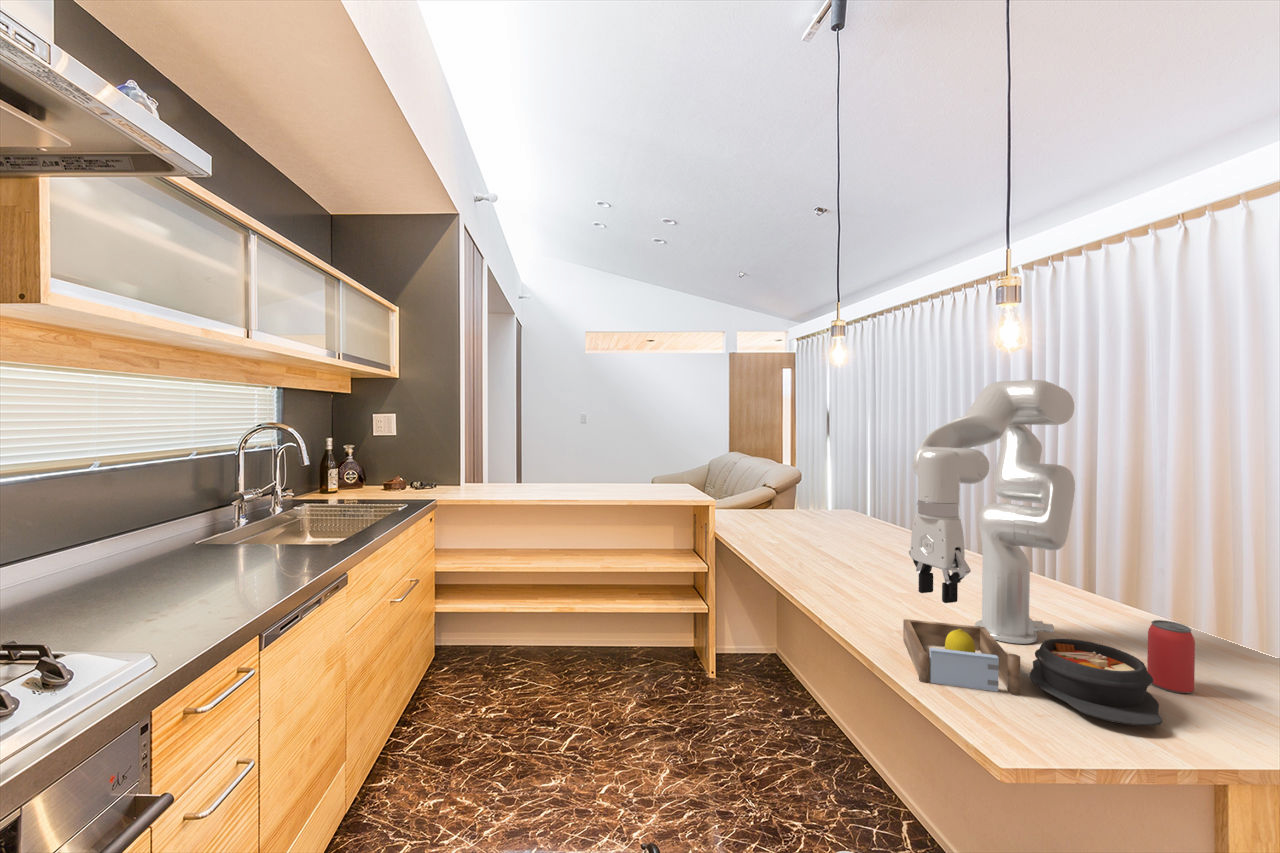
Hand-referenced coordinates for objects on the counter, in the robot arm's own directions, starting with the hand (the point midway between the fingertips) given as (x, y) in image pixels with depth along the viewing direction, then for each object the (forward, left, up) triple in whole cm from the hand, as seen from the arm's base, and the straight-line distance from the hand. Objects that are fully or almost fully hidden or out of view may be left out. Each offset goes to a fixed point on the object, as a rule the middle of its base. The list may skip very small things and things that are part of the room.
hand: (937, 596), depth 112 cm
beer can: (-42, -7, -16) cm, 45 cm away
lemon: (-5, -4, -16) cm, 17 cm away
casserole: (-25, +3, -16) cm, 30 cm away
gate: (-4, +5, -16) cm, 17 cm away
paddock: (-4, -5, -16) cm, 17 cm away
